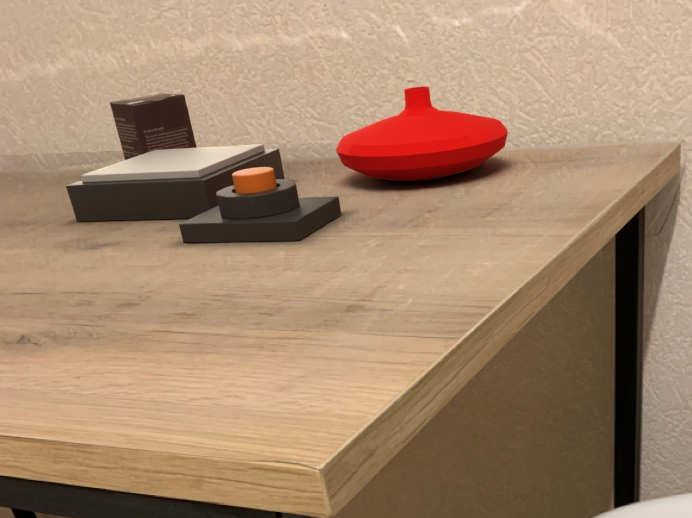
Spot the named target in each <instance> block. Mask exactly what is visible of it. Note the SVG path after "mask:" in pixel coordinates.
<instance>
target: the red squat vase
mask: <svg viewBox="0 0 692 518" xmlns="http://www.w3.org/2000/svg"><path fill="white" fill-rule="evenodd" d="M403 92H404V109H403V110H402V111H401V112H400V113H399V114H396V115H394V116H393V115H392V116H390V117H387V118H384V119H381V120H379V121H376V122H374V123H371V124H369V125H366V126H364V127H361V128H359V129H357V130H354V131H352V132H349V133H348V134H345V135H343V136H342V137H341V139H340V140H339V142H338V145H337V146H336V148H335V152H336V154H337V156H338V158H339V160H340V163H341V165H343V166H344V167H346V168H347V169H350V170H352V171H354V172H357V173H359V174H361V175H363V176H365V177H368V178H372V179H375V180H386V181H395V182H422V181H430V180H437V179H441V178H447V177H449V176H454V175H458V174H461V173H463V172H466V171H470V170H473V169H475V168H478V167H480V166H482V165H483V164H484V163H485V162H487V161H488V160H489V159H490V158H492V157H493V156H495V155H496V154H497V153H499V152H500V151H502V150H503V149H504V148H505V146H506V144H507V143H506V142H507V138H508V134H509V133H508V132H509V131H508V128H507V127H506V126H505V125H504V124H503V122H502V121H501V120H500V119H497V118H494V117H488V116H483V115H478V114H473V113H467V112H460V111H453V110H452V111H451V110H441V109H438V108H437V107H434V106H433V104H432V101H431V92H430V86H414V87H413V86H412V87H408V88H405V89H404V90H403Z"/></svg>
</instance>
